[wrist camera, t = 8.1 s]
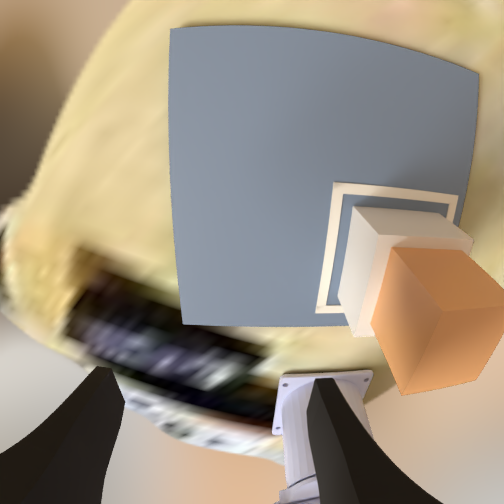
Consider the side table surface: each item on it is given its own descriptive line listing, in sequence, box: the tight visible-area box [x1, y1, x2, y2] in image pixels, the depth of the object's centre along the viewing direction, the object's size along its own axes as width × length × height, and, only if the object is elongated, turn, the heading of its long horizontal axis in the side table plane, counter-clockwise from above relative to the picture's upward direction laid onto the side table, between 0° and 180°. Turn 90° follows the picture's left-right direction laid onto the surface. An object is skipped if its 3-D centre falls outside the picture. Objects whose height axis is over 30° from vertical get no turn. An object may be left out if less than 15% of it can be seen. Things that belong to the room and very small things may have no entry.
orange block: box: [370, 247, 504, 395], centre depth 12 cm, size 4×4×5 cm
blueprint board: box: [168, 25, 479, 327], centre depth 17 cm, size 18×18×1 cm
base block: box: [338, 206, 474, 337], centre depth 16 cm, size 6×6×4 cm
